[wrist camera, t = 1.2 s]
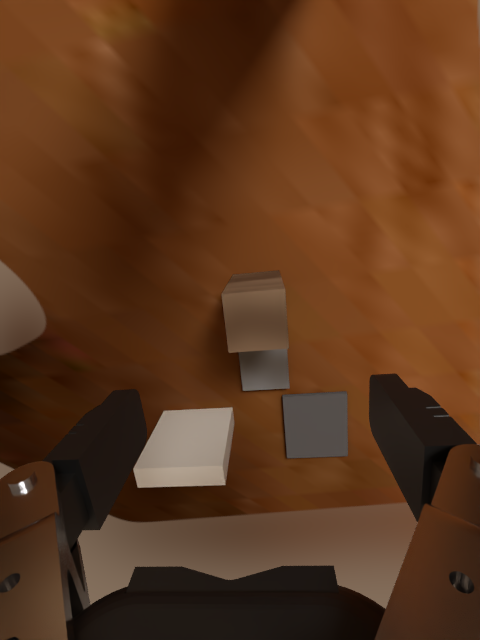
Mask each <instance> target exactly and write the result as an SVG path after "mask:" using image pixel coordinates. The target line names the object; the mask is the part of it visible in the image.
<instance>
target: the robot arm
mask: <svg viewBox="0 0 480 640" xmlns="http://www.w3.org/2000/svg"><path fill="white" fill-rule="evenodd" d="M369 420H370V427H371V431H372V434H373V436H374V438H375V440H376V442H377V444H378V446H379V448H380V450H381V452H382V454H383V456H384V458H385V460H386V462H387V464H388V466H389V468H390V470H391V472H392V474H393V476H394V478H395V479H396V481H397V483H398V485H399V487H400V489H401V491H402V493H403V495H404V497H405V499H406V501H407V503H408V505H409V507H410V509H411V511H412V512H413V515H414V517H415V518H416V521H417V522H418V523H417V525H416V528H415V531H414V534H413V536H412V539H411V542H410V544H409V547H408V550H407V553H406V555H405V558H404V561H403V564H402V566H401V569H400V572H399V574H398V577H397V580H396V583H395V585H394V588H393V591H392V593H391V596H390V599H389V602H388V605H387V607H386V609H385V608H383V607H382V606H380V605H379V604H377V603H376V602H374V601H373V600H371V599H369V598H368V597H366V596H364V595H362V594H360V593H358V592H355V591H353V590H351V589H348V588H345V587H342V586H339V585H337V580H336V575H335V570H334V566H281V567H277V568H274V569H271V570H267V571H263V572H260V573H256V574H253V575H250V576H246V577H242V578H239V579H235V580H225V579H222V578H218V577H215V576H212V575H208V574H205V573H202V572H198V571H195V570H191V569H188V568H184V567H135V569H134V572H133V575H132V577H131V580H130V583H129V585H128V587H125V588H122V589H120V590H117V591H115V592H112V593H111V594H109V595H107V596H105V597H103V598H101V599H99V600H98V601H96V602H94V603H93V604H92V605H90V600H89V594H88V589H87V583H86V577H85V572H84V566H83V561H82V555H81V550H80V545H79V542H78V537H79V535H80V533H81V532H82V530H100V528H101V527H102V525H103V523H104V521H105V519H106V517H107V515H108V514H109V512H110V510H111V508H112V506H113V504H114V502H115V500H116V498H117V496H118V495H119V493H120V491H121V489H122V487H123V485H124V483H125V481H126V479H127V478H128V476H129V474H130V472H131V470H132V468H133V466H134V464H135V462H136V461H137V459H138V457H139V455H140V453H141V451H142V449H143V447H144V445H145V442H146V437H147V428H146V423H145V418H144V414H143V409H142V405H141V400H140V396H139V393H138V391H137V390H136V389H130V390H115V391H113V392H112V393H111V394H110V395H109V396H108V397H107V398H106V400H105V401H104V402H103V403H102V404H101V405H99V406H97V407H96V408H94V409H93V410H91V411H89V412H88V413H86V414H85V415H84V416H83V417H82V418H81V420H80V421H79V422H78V423H77V424H76V426H74V427H73V428H72V429H71V430H70V432H69V434H67V435H66V436H65V437H64V438H63V439H62V440H61V441H60V442H59V443H58V445H57V446H56V447H55V448H54V449H53V450H52V451H51V452H50V453H49V454H48V455H47V457H46V458H45V459H44V460H43V461H38V462H33V463H29V464H26V465H23V466H21V467H19V468H17V469H15V470H13V471H11V472H10V473H8V474H7V475H5V476H4V477H3V478H1V479H0V640H480V445H477V444H476V442H475V441H474V440H473V439H472V438H471V437H470V436H469V435H468V434H467V433H466V432H465V431H464V430H463V429H462V428H461V427H460V426H459V425H458V424H457V423H456V422H455V421H454V420H453V418H452V417H449V414H448V413H447V412H446V411H445V410H444V409H443V408H441V407H440V405H439V404H438V403H437V402H436V401H435V400H434V399H433V398H432V397H431V396H430V395H428V394H427V393H425V392H423V391H421V390H419V389H417V388H408V386H407V385H406V384H405V383H404V382H403V381H402V380H401V378H400V377H399V376H398V375H397V374H380V375H371V377H370V392H369Z"/></svg>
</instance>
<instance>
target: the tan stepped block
mask: <svg viewBox="0 0 480 640" xmlns="http://www.w3.org/2000/svg"><path fill="white" fill-rule="evenodd" d="M221 295H222V303H223V311H224V320H225V328H226V336H227V344H228V352H229V353H233V352H239V361H240V370H241V379H242V388H243V391H250V390H268V389H285V388H289V373H288V358H287V349H289V343H288V327H287V312H286V296H285V287H284V284H283V281H282V278H281V275H280V272H279V271H268V272H257V273H246V274H236V275H233V276H232V277H231V279H230V281H229V282H228V284H227V286H226V287H225V289H224V291H223V292H222V294H221Z"/></svg>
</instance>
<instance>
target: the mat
mask: <svg viewBox="0 0 480 640" xmlns="http://www.w3.org/2000/svg"><path fill="white" fill-rule="evenodd" d="M282 397H283V411H284V424H285V438H286V451H287V458H309V457H336V456H348V439H347V392H328V393H310V394H292V395H282Z"/></svg>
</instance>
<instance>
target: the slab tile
mask: <svg viewBox="0 0 480 640" xmlns="http://www.w3.org/2000/svg"><path fill="white" fill-rule="evenodd" d="M233 429H234V417H233V409H232V407H231V408H212V409H193V410H174V411H164V412H163V414H162V416H161V417H160V419H159V421H158V423H157V425H156V427H155V429H154V431H153V433H152V434H151V436H150V438H149V440H148V442H147V444H146V446H145V448H144V450H143V451H142V453H141V455H140V457H139V459H138V461H137V463H136V465H135V467H134V468H133V470H134V474H135V478H136V482H137V487H138V488H143V487H177V486H211V485H225V484H226V477H227V470H228V463H229V456H230V449H231V442H232V436H233Z"/></svg>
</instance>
